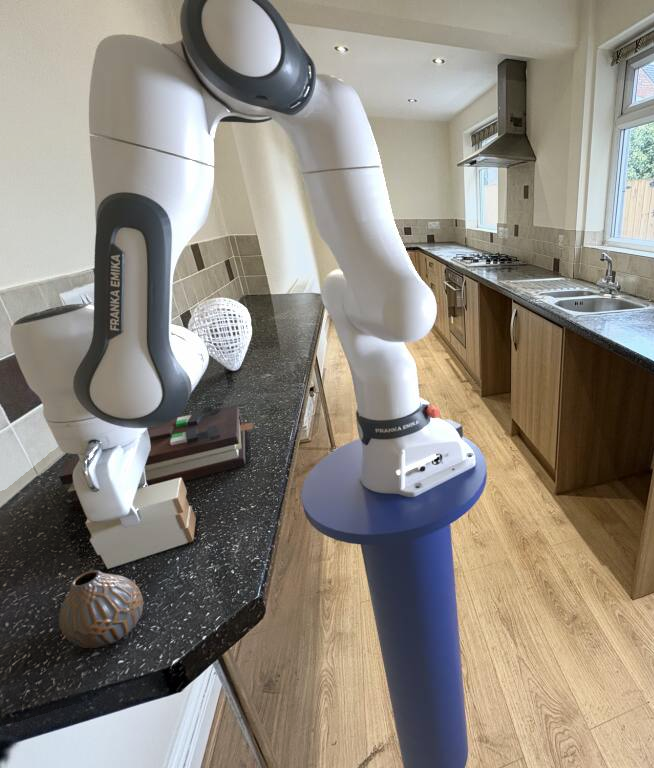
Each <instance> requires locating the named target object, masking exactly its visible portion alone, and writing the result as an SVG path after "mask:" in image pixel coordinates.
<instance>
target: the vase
mask: <svg viewBox="0 0 654 768" xmlns="http://www.w3.org/2000/svg"><path fill="white" fill-rule="evenodd" d="M143 611H144V598H143V594H142V592H141V590H140V588H139V586H138V585H137V584H136V583H135V582H134V581H132V580H131V579H129V578H128V577H125V576H124V575H119V574H113V573H105V572H102V571H101V570H97V569H93V570H89V571H85V572H83V573H81V574H79V575H78V576H76V577H74V579H73V580H72V581H71V583H70V586H69V591H68V593H67V595H66V596H65V598H64V600H63V602H62V604H61V606H60V609H59V612H58V624H59V629H60V631H61V633H62V635H63V636H64V638H65V639H66V640H67V641H69V642H70V643H71V644H72V645H75V646H76V647H80V648H85V649H95V648H101V647H102V648H103V647H105V646H109V645H111V644H115V643H116V642H118V641H119V640H122V638H124V637H125V636H127V635H128V634H129V633H130V632H131V631H132V630H133V629H134V627H135V626H136V625H137V623H138V622H139V621H140V618H141V617H142V614H143Z"/></svg>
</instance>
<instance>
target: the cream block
mask: <svg viewBox="0 0 654 768" xmlns="http://www.w3.org/2000/svg"><path fill="white" fill-rule="evenodd" d="M187 493H188V490H187V488H186V485H185V481H183V480H182V477H181V478H177V479H173V480H169V481H165V482H161V483H157V484H154V485H150V486H146V487H142V488H138V489H137V490H136V493H135V496H134V499H133V504H132V505H133V506H134V508H138V510H139V513H140V515H141V517H140V521H139V523H138V524H137V525H134V526H130V527H123V526H122V524H121V522H120V520H119V519H118V518H117V519H114V520H110V521H106V522H103V523H98V524H95V523H92V522H91V521H89V520H88V519H87V518H86V521H85V526H86V527H87V529H88V531H89V533H90V536H92V537H93V539H95V538H99V537H102V536H105V535H109V534H112V533H115V532H119V531H122V530H126V529H129V528H132V527H136V526H139V525H142V524H146V523H149V522H153V521H156V520H159V519H163V518H166V517H169V516H173V515H176V514H180V513H183V512H184V506H185V499H187Z"/></svg>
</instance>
